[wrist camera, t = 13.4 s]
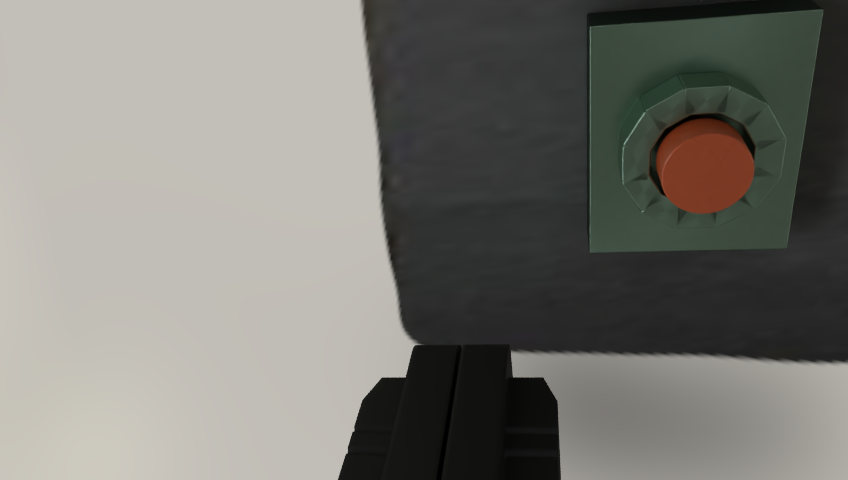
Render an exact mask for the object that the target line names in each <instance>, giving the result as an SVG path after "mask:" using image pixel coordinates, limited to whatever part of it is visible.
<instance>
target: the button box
mask: <svg viewBox="0 0 848 480" xmlns="http://www.w3.org/2000/svg"><path fill="white" fill-rule="evenodd" d="M822 17H823V9H822V8H821V7H820V6H818V5H817V4H816V3H814V2H813V1H812V0H760V1H747V2H734V3H721V4H708V5H695V6H682V7H669V8H656V9H643V10H630V11H617V12H604V13H591V14H587V233H588V243H589V252H590V253H601V252H648V251H695V250H742V249H786V248H787V243H788V236H789V230H790V223H791V217H792V210H793V204H794V198H795V191H796V185H797V178H798V172H799V165H800V159H801V152H802V146H803V139H804V133H805V127H806V120H807V114H808V107H809V101H810V94H811V88H812V81H813V75H814V68H815V62H816V56H817V49H818V43H819V36H820V30H821V23H822ZM701 118H711V119H717V120H721V121H723V122H726V123H728V124H729V125H731V126H732V127H734V128H735V129H736V130H737V131H738V132H739V134H740V135H741V137H742V139H743V140H744V142H745V144H746V145H747V147H748V149H749V151H750V152H751V154H752V157H753V160H754V166H755V170H754V177H753V180H752V183H751V185H750V187H749V189H748V190H747V192H746V193H745V194H744V195H743V197H742V198H741V199H739V200H738V201H737V202H736V203H734V204H733V205H731V206H730V207H728V208H726V209H723V210H721V211H717V212H713V213H706V214H699V213H692V212H688V211H685V210H683V209H680V208H679V207H677V206H676V205H674V204H673V203H672V202H671V201H670V200H669V199H668V198H667V196H666V195H665V193H664V191H663V188H662V185H661V182H660V179H659V175H658V172H657V168H656V156H657V152H658V149H659V147H660V144H661V143H662V141H663V140H664V138H665V137H666V136H667V135H668V134H669V133H670V132H671V131H672V130H673V129H675V128H676V127H678V126H679V125H681V124H683V123H685V122H688V121H691V120H695V119H701Z"/></svg>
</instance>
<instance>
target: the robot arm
mask: <svg viewBox="0 0 848 480" xmlns="http://www.w3.org/2000/svg"><path fill="white" fill-rule="evenodd" d="M354 427H355V431H354V432H353V433H352V436H351V439H350V443H349V446H348V454H346V456H345V459H344V462H343V465H342V469H341V472H340V475H339V478H338V480H561V473H560V472H561V471H560V450H559V428H558V427H559V426H558V404H557V400H556V398H555V397H554V395H553V393H552V392H551V390H550V388H549V387H548V385H547V383H546V381H545V380H544V378H513V375H512V362H511V351H510V346H509V344H493V345H463V347H461V345H415V346H414V348H413V351H412V355H411V359H410V363H409V366H408V371H407V375H406V378H381V380H380V381H379V382H378V383H377V384H376V385H375V386H374V388H373V389H372V390H371V391H370V392H369V393H368V395H367V396H366V397H365V398H364V399H363V401H362V403H361V407H360V410H359V413H358V417H357V420H356V423H355V426H354Z"/></svg>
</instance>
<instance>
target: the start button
mask: <svg viewBox="0 0 848 480" xmlns="http://www.w3.org/2000/svg"><path fill="white" fill-rule="evenodd" d="M656 168H657V172H658V175H659V179H660V182H661V185H662V188H663V191H664V193H665V195H666V196H667V198H668V199H669V200H670V201H671V202H672V203H673V204H674V205H676V206H677V207H679V208H680V209H683V210H685V211H688V212H692V213H699V214H706V213H713V212H717V211H721V210H723V209H726V208H728V207H730V206H731V205H733V204H734V203H736V202H737V201H738V200H739V199H741V198H742V197H743V195H744V194H745V193H746V192H747V190H748V189H749V187H750V185H751V183H752V180H753V177H754V170H755V166H754V160H753V157H752V154H751V152H750V151H749V149H748V147H747V145H746V144H745V142H744V140H743V139H742V137H741V135H740V134H739V132H738V131H737V130H736V129H735V128H734V127H732V126H731V125H729V124H728V123H726V122H723V121H721V120H717V119H711V118H701V119H695V120H691V121H688V122H685V123H683V124H681V125H679V126H678V127H676V128H675V129H673V130H672V131H671V132H670V133H669V134H668V135H667V136H666V137H665V138H664V140H663V141H662V143H661V144H660V147H659V149H658V152H657V156H656Z"/></svg>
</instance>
